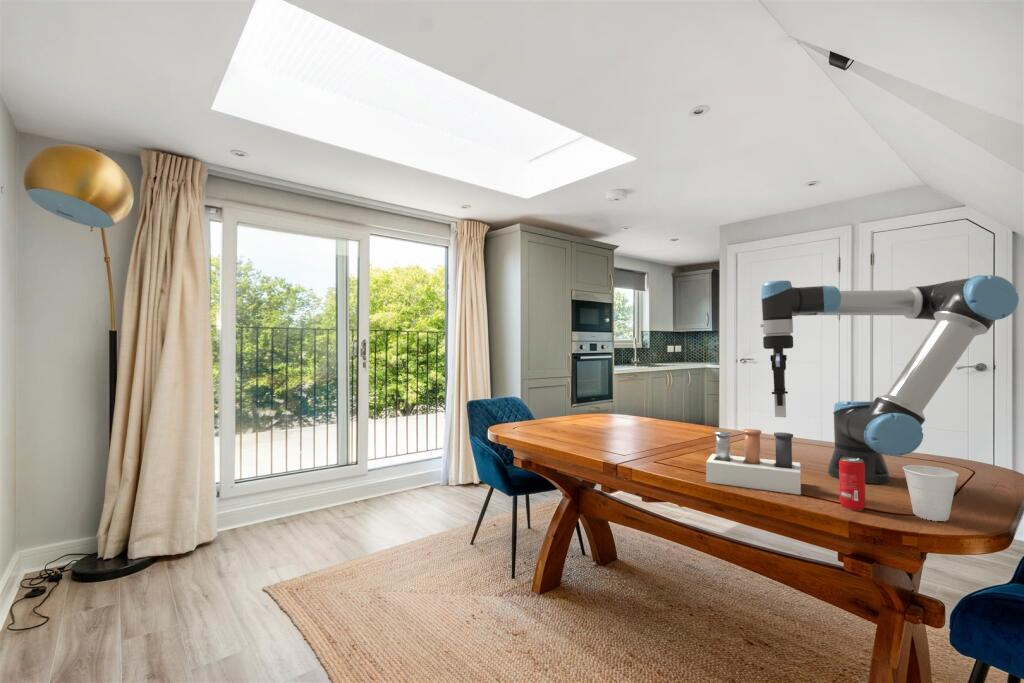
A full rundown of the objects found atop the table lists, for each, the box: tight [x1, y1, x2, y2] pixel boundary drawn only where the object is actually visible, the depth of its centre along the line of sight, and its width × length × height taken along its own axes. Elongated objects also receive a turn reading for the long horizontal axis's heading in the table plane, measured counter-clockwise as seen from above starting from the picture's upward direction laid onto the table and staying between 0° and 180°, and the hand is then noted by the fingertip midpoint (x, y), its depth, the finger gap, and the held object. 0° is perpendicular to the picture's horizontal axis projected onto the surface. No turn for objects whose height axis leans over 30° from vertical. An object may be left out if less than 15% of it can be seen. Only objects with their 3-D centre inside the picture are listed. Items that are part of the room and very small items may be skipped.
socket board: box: [705, 453, 802, 496], centre depth 138 cm, size 24×12×6 cm, turn 58°
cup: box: [902, 464, 960, 522], centre depth 110 cm, size 10×10×11 cm
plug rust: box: [742, 428, 762, 465], centre depth 138 cm, size 5×5×10 cm
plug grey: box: [713, 430, 733, 462], centre depth 142 cm, size 5×5×10 cm
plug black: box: [773, 432, 794, 469], centre depth 134 cm, size 5×5×10 cm
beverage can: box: [838, 457, 866, 512], centre depth 117 cm, size 5×5×12 cm
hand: (780, 416), depth 134 cm, fingers closed
